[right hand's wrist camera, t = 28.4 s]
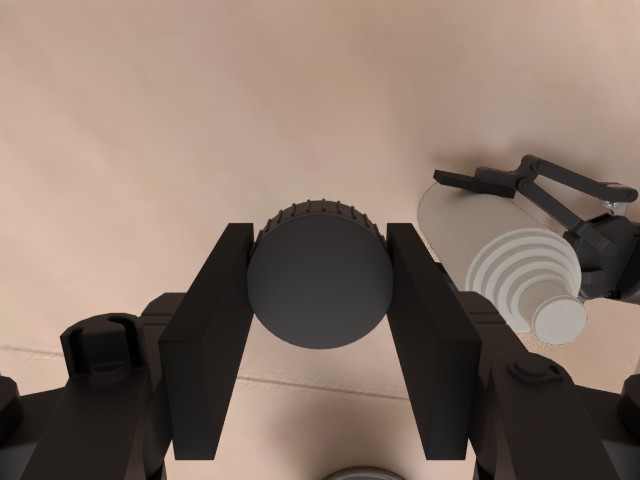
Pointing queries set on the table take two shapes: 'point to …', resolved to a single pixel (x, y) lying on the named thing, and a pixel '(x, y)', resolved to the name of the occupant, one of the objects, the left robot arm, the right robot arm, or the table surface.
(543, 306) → the bottle
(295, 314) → the cap
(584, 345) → the table surface
